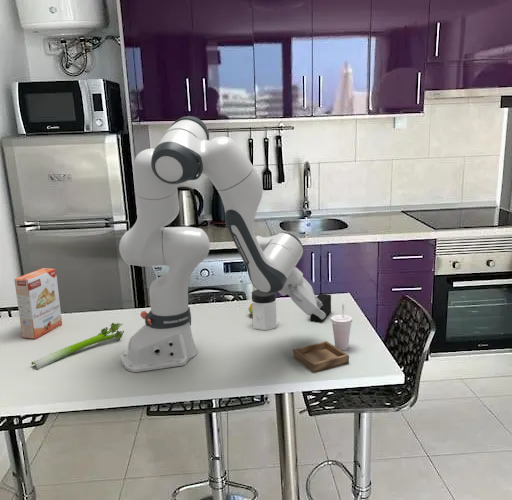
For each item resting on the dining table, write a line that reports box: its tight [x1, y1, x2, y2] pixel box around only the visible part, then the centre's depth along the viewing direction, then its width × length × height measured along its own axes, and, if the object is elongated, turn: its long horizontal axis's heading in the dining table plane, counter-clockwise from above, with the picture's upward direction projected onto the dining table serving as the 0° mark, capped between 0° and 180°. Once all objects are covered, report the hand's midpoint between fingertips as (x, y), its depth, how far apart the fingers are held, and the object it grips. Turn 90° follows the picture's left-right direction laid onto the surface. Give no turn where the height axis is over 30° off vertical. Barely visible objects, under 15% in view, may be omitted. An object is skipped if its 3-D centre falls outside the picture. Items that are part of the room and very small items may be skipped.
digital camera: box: [309, 293, 332, 324], centre depth 187 cm, size 10×5×7 cm, turn 155°
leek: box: [31, 322, 125, 371], centre depth 166 cm, size 6×7×30 cm
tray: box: [292, 341, 350, 374], centre depth 154 cm, size 12×12×2 cm
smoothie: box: [330, 303, 353, 352], centre depth 160 cm, size 6×6×14 cm
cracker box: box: [13, 267, 63, 340], centre depth 182 cm, size 14×6×21 cm, turn 161°
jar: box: [251, 289, 277, 331], centre depth 180 cm, size 9×8×12 cm
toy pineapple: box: [248, 303, 253, 316], centre depth 191 cm, size 7×10×5 cm
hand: (322, 311), depth 157 cm, fingers open, 8 cm apart
